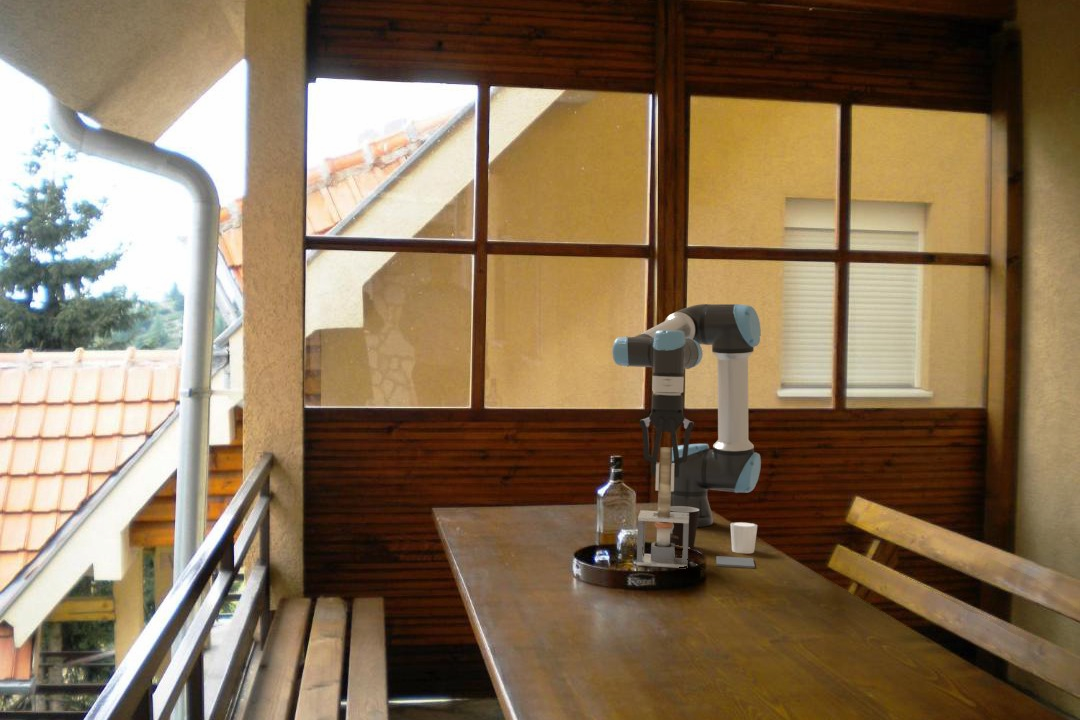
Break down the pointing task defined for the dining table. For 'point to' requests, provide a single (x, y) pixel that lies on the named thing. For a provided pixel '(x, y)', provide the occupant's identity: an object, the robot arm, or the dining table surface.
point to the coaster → (735, 562)
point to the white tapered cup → (743, 537)
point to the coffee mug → (677, 528)
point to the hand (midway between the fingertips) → (664, 490)
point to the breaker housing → (662, 554)
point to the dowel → (664, 482)
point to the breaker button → (663, 533)
